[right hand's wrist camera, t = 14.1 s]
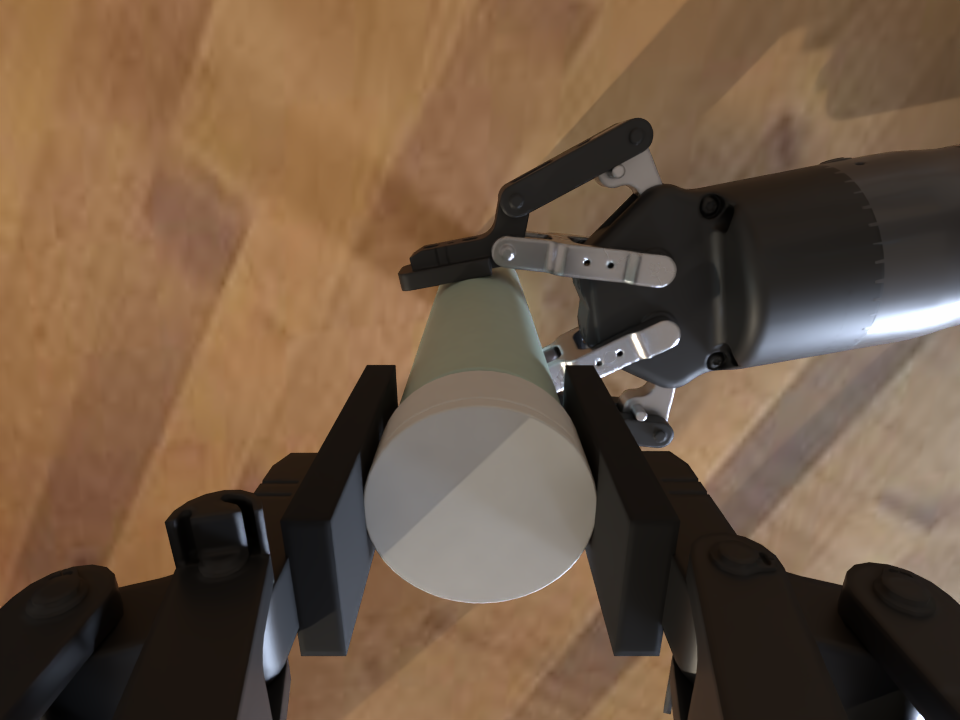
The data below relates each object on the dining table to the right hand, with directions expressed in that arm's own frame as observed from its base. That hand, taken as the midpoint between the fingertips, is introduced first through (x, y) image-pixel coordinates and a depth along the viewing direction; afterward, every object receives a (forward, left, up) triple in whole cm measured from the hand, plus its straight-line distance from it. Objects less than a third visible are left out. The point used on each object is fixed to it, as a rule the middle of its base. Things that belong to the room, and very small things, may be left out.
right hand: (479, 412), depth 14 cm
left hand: (+1, +2, -9) cm, 9 cm away
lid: (0, 0, +4) cm, 4 cm away
